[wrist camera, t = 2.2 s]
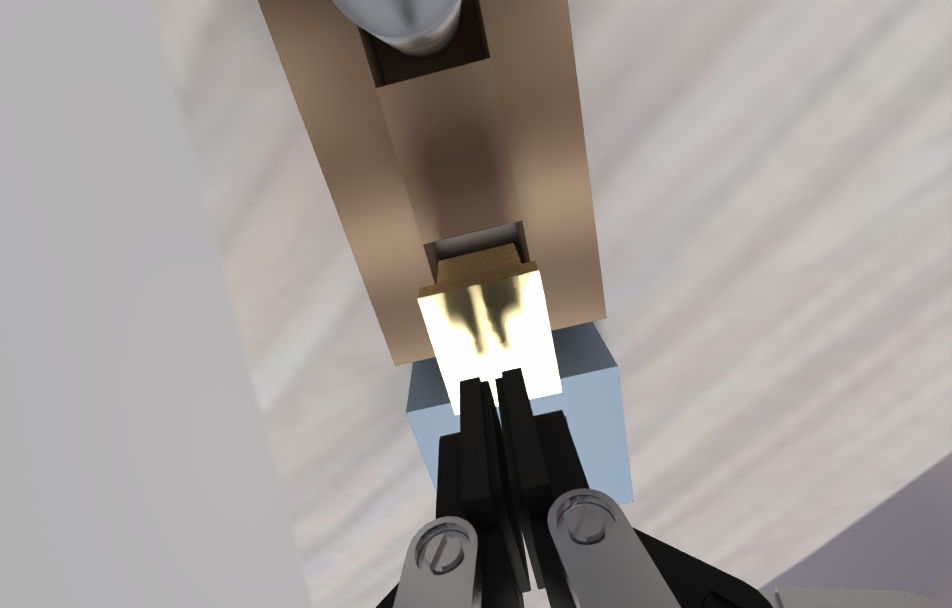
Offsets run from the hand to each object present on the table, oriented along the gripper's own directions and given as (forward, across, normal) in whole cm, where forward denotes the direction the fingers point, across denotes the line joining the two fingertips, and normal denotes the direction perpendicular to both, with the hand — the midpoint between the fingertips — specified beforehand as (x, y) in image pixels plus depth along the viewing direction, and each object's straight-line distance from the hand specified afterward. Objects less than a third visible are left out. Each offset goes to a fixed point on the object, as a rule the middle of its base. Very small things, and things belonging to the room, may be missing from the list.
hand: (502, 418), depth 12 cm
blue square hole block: (+13, 0, +9) cm, 16 cm away
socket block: (+12, 0, -6) cm, 14 cm away
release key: (+7, 0, -1) cm, 7 cm away
